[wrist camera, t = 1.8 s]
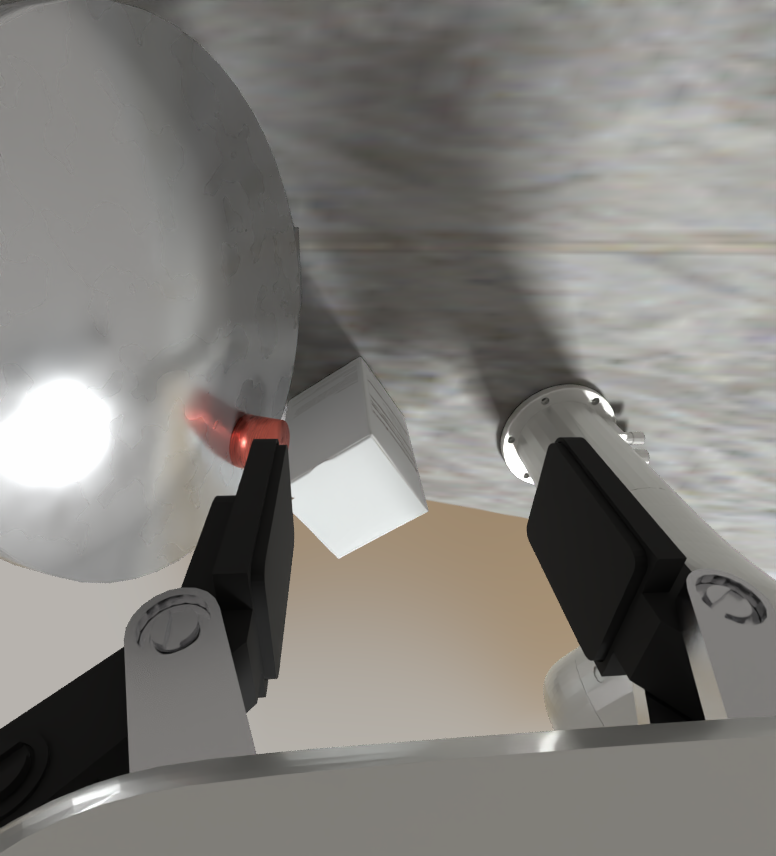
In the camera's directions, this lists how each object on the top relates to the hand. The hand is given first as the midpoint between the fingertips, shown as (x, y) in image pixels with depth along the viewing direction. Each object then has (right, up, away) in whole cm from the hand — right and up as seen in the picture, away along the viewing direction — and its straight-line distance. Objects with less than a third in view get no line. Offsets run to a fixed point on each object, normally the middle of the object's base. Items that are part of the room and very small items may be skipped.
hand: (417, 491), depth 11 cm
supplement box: (-5, +3, +37) cm, 37 cm away
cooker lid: (-11, +5, +8) cm, 14 cm away
